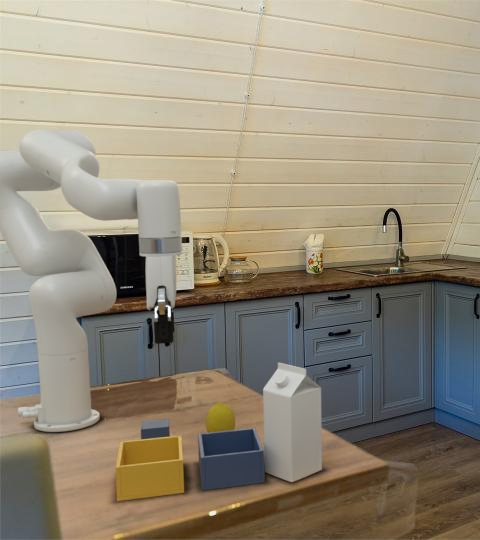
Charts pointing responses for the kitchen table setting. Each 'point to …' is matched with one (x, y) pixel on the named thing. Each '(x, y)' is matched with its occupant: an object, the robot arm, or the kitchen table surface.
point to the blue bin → (230, 458)
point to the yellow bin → (149, 468)
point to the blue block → (155, 429)
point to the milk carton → (292, 424)
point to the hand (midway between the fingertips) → (165, 337)
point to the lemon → (220, 418)
